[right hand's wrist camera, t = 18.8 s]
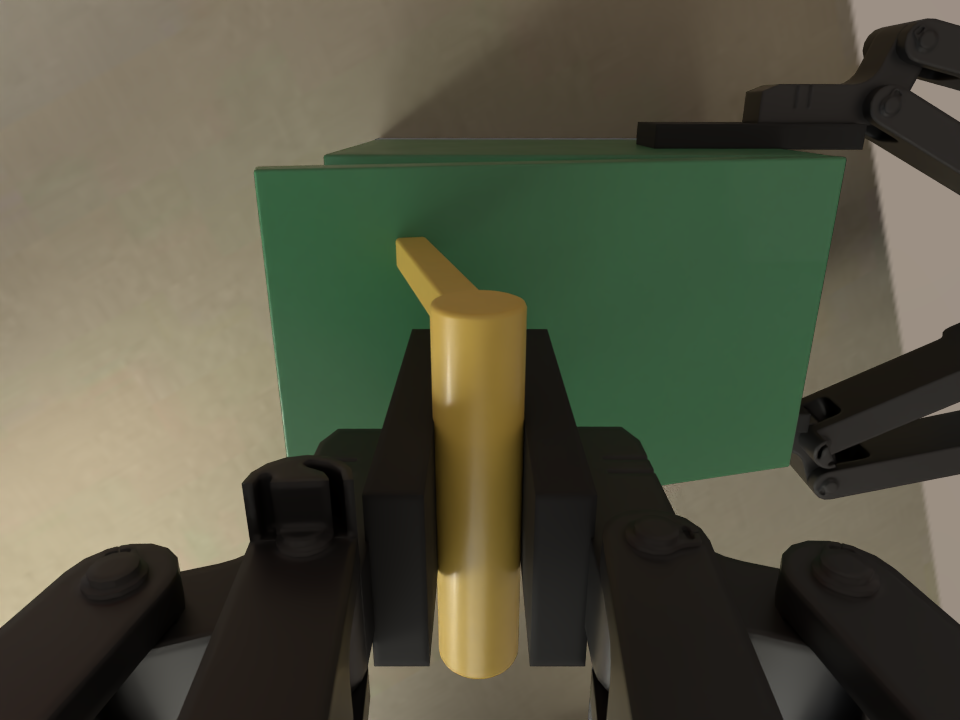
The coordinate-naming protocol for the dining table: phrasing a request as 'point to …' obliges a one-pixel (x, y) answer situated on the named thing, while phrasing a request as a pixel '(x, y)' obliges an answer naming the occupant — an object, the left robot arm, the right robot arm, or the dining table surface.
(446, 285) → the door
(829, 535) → the dining table surface
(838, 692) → the right robot arm
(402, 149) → the chest
